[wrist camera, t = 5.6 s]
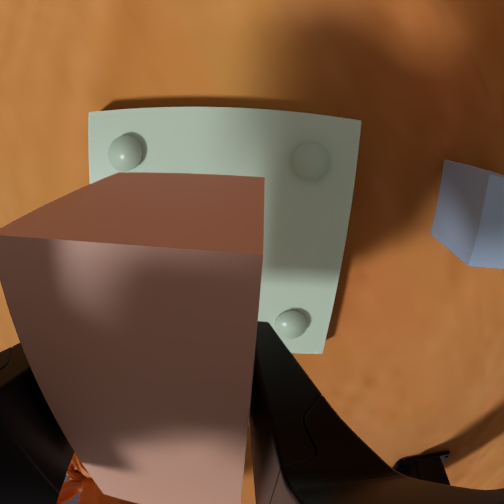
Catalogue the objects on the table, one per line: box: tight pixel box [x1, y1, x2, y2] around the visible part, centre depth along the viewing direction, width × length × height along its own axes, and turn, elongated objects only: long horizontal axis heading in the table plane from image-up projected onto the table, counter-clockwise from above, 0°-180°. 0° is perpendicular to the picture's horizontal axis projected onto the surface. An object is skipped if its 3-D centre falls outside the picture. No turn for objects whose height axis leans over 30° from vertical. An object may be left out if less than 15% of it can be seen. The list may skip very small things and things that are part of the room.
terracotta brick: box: [0, 172, 265, 504], centre depth 7 cm, size 8×4×5 cm, turn 176°
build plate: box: [88, 107, 361, 354], centre depth 15 cm, size 12×12×1 cm
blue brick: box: [431, 159, 504, 269], centre depth 13 cm, size 4×4×4 cm
